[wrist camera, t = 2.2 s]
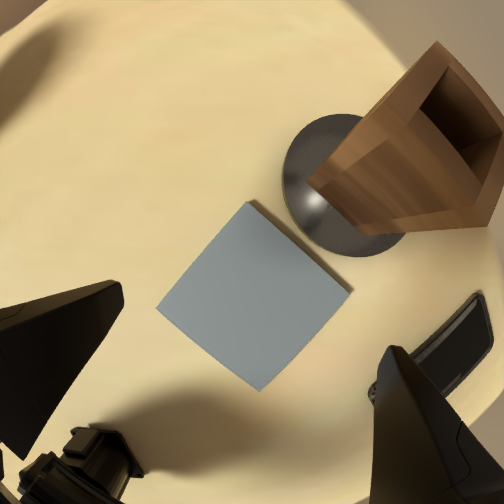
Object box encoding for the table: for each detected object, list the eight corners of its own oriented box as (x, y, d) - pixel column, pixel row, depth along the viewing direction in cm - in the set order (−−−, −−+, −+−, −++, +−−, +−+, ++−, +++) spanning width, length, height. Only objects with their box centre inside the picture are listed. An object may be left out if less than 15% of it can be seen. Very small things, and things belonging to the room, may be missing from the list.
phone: (367, 393, 20) (482, 289, 20) (362, 387, 21) (474, 287, 21) (393, 440, 20) (495, 345, 20) (389, 434, 21) (489, 343, 21)
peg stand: (359, 286, 20) (383, 295, 16) (250, 187, 20) (251, 173, 16) (430, 186, 20) (458, 177, 16) (338, 95, 20) (353, 70, 16)
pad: (259, 388, 20) (259, 391, 20) (157, 306, 20) (155, 308, 19) (347, 293, 20) (349, 294, 20) (246, 202, 20) (246, 201, 19)
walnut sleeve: (362, 235, 19) (487, 226, 7) (305, 182, 19) (383, 101, 7) (401, 182, 19) (517, 137, 7) (349, 131, 19) (436, 40, 7)
